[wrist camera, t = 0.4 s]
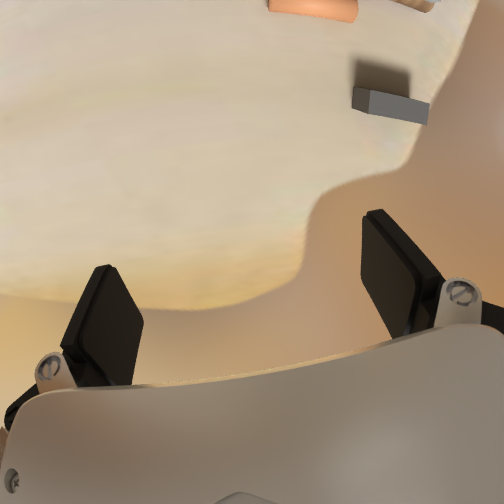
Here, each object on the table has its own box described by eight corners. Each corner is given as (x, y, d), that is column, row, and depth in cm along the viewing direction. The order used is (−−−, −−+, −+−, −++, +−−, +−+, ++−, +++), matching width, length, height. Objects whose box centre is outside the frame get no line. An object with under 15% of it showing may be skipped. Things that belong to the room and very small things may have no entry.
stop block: (353, 86, 33) (370, 89, 29) (409, 98, 34) (429, 103, 30) (351, 108, 35) (368, 113, 30) (407, 117, 35) (426, 125, 31)
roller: (267, 11, 27) (271, 11, 25) (269, -15, 25) (273, -18, 22) (345, 22, 28) (356, 24, 25) (347, -3, 25) (359, -3, 23)
